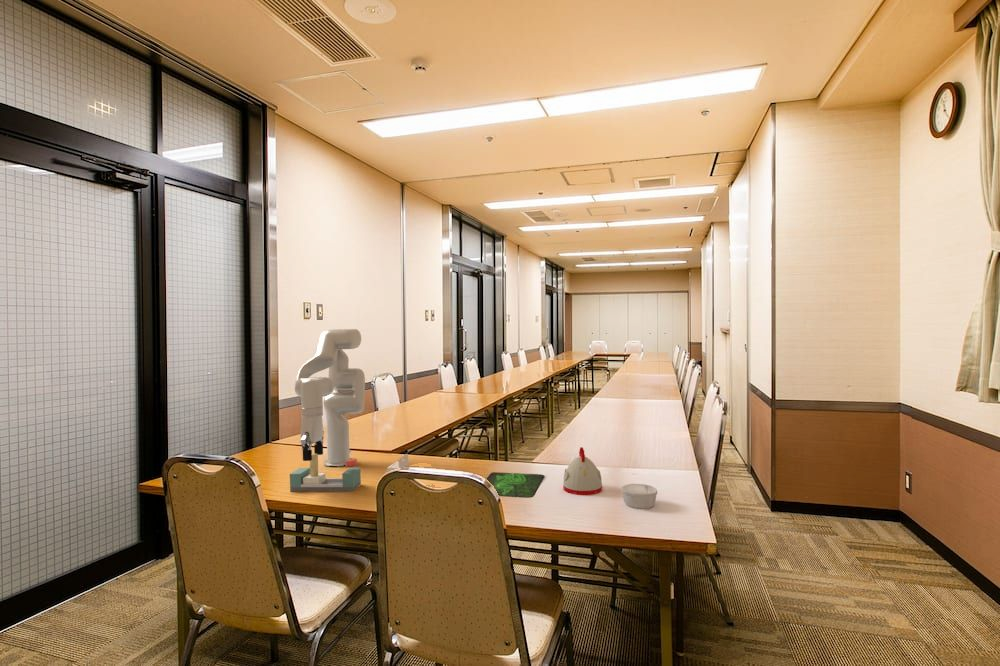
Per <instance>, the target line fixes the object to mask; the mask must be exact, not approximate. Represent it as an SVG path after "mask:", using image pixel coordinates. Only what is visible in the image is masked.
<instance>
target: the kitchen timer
mask: <svg viewBox="0 0 1000 666" xmlns="http://www.w3.org/2000/svg"><path fill="white" fill-rule="evenodd" d="M578 454H579V455H578V456H577V457H575V458H574V459H573V460H572V461H571V462H570V463H569V465H568V467H567V468H565V469H564V474H563V491H564V492H566V493H567V494H571V495H575V496H593V495H598V494H601V493H602V491H603V484H602V483H603V482H602V475H601V471H600V470H599V469H598V468H597V466H596V465H595V463H594V462H593V461H592V460H591V459H590V458H589V457H587V456H586V454H585V449H584V448H583V446H582V447H579V451H578Z"/></svg>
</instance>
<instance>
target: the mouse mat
mask: <svg viewBox="0 0 1000 666" xmlns="http://www.w3.org/2000/svg"><path fill="white" fill-rule="evenodd" d="M544 477H545V475H544V474H538V473H520V472H519V473H517V472H500V471H499V472H495V471H494V472H491V473H490V474H489V475H488V476H487V477H486V478H485V480H486V479H487V480H488V481H489V482H490V483H491V484H492V485H493V486H494V488H495V489H496V491H497V493H498V495H499V496H498V497H507V498H520V499H521V498H524V499H530V498H533V497H534V496H535V495H536V493H537V491H538V489H539V487H540V485H541V484H542V481H543V479H544Z"/></svg>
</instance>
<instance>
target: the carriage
mask: <svg viewBox="0 0 1000 666" xmlns="http://www.w3.org/2000/svg"><path fill="white" fill-rule="evenodd" d="M309 468H310V474H308V475H307V476H305V477H303V484H322V483H323V482H325V478H326V473H325V472H319V455H318V454H317V453H312V460H311V461H309Z"/></svg>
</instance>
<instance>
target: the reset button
mask: <svg viewBox="0 0 1000 666" xmlns="http://www.w3.org/2000/svg"><path fill="white" fill-rule="evenodd" d="M357 466H358V460H357V459H356V458H355V459H354V458H352V459H349V460H346V465H345V468H356V467H357Z"/></svg>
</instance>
